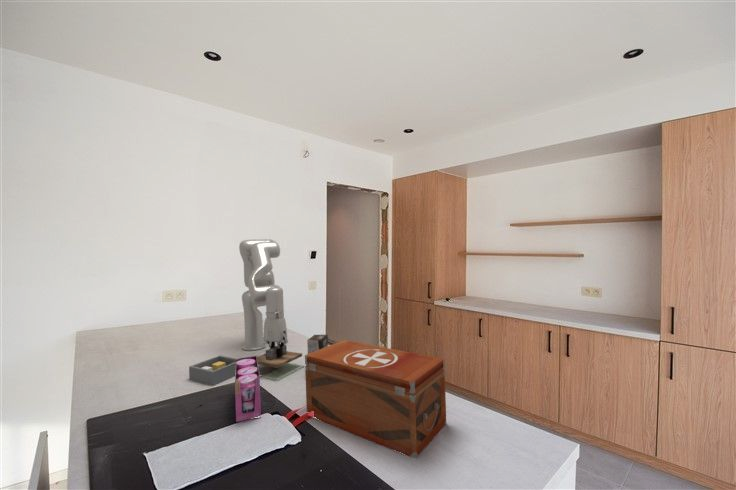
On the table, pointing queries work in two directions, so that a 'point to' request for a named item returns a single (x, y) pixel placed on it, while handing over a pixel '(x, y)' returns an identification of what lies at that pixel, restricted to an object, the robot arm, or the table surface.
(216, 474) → the table surface
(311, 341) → the coffee box
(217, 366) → the ochre block
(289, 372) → the sage mat
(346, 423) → the wooden box
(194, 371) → the storage box
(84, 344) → the table surface
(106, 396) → the table surface
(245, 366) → the gum box
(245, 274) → the robot arm
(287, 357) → the lid
